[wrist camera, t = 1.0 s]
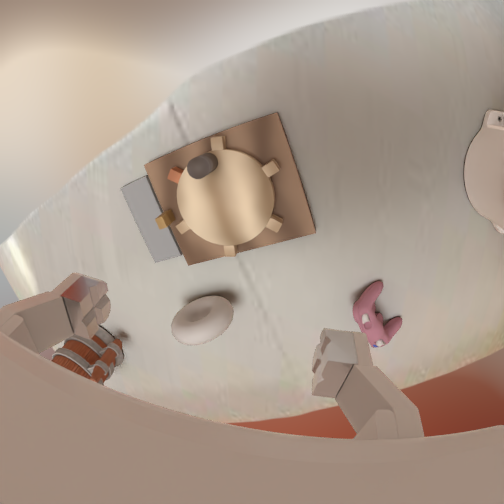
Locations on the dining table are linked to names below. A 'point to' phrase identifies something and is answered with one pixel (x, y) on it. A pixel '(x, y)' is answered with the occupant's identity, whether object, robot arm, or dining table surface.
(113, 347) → the mug
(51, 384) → the robot arm
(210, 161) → the index wheel
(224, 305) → the donut
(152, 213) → the donut mat
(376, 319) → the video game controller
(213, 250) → the wheel base
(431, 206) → the dining table surface
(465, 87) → the dining table surface
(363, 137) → the dining table surface
